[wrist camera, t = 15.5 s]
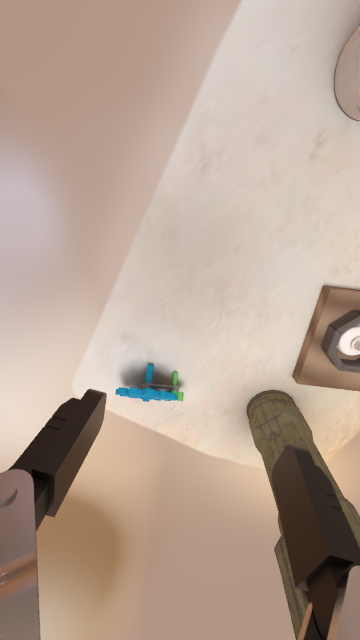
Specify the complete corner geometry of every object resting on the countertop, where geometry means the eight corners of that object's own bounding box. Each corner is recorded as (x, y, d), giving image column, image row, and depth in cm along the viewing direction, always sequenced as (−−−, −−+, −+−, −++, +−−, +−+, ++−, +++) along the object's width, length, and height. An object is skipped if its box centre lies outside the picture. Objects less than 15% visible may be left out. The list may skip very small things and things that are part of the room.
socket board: (323, 285, 35) (338, 293, 32) (404, 295, 35) (429, 303, 32) (292, 376, 41) (302, 391, 38) (362, 384, 41) (378, 400, 38)
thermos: (241, 386, 43) (398, 908, 10) (309, 392, 42) (690, 945, 10) (234, 425, 46) (334, 910, 13) (296, 430, 46) (551, 938, 13)
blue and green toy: (115, 399, 43) (113, 395, 34) (121, 367, 45) (120, 354, 36) (176, 405, 45) (189, 403, 36) (178, 373, 47) (191, 363, 38)
